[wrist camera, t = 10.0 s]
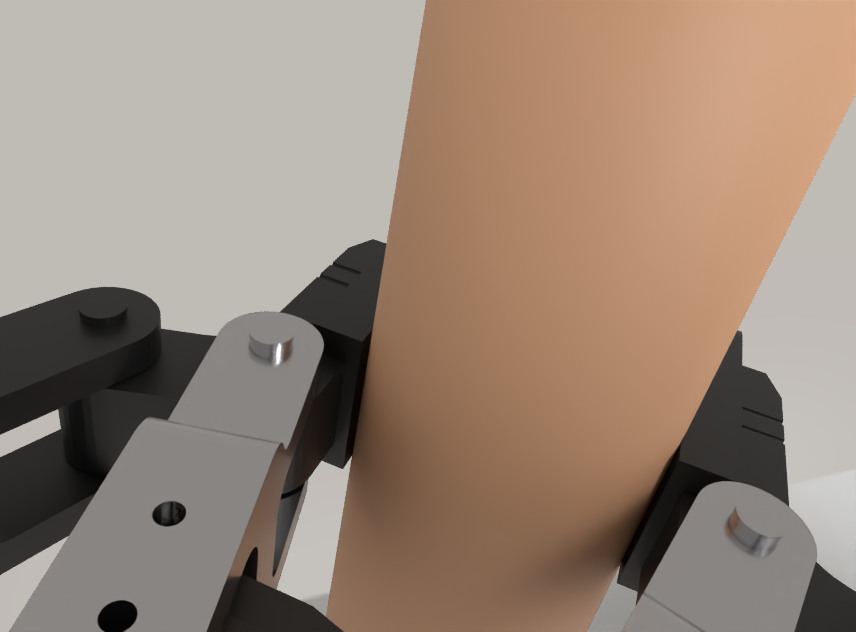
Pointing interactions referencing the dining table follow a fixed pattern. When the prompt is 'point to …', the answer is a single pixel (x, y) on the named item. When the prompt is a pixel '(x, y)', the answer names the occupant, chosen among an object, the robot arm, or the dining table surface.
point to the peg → (567, 287)
